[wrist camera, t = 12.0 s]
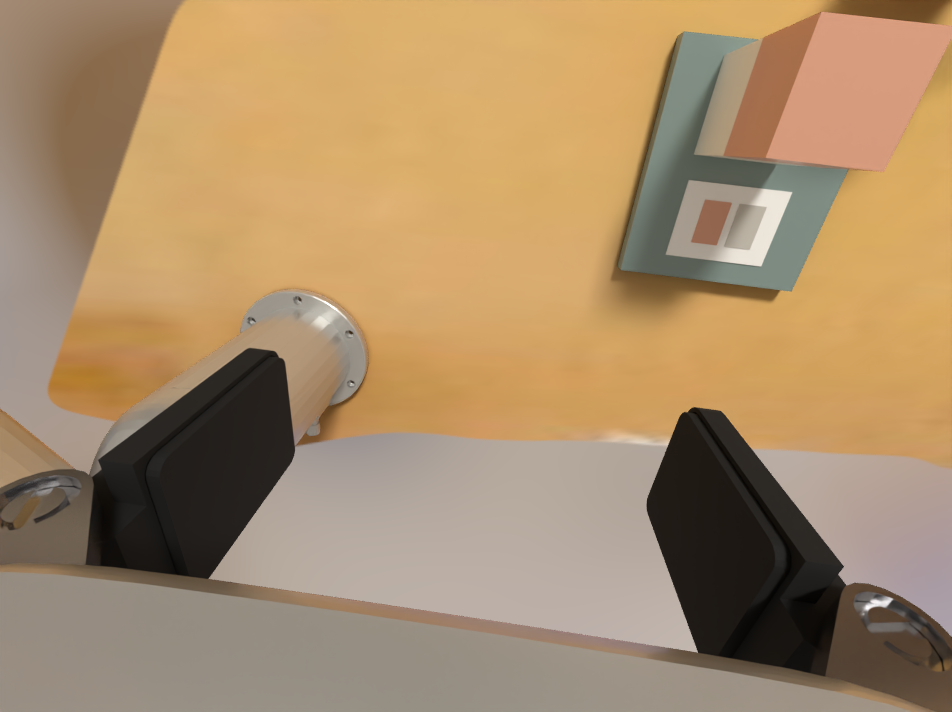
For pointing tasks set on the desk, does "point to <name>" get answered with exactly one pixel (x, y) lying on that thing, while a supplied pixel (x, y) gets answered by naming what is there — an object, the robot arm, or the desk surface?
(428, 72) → the desk surface
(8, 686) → the robot arm
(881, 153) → the terracotta brick
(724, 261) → the baseplate
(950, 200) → the desk surface
